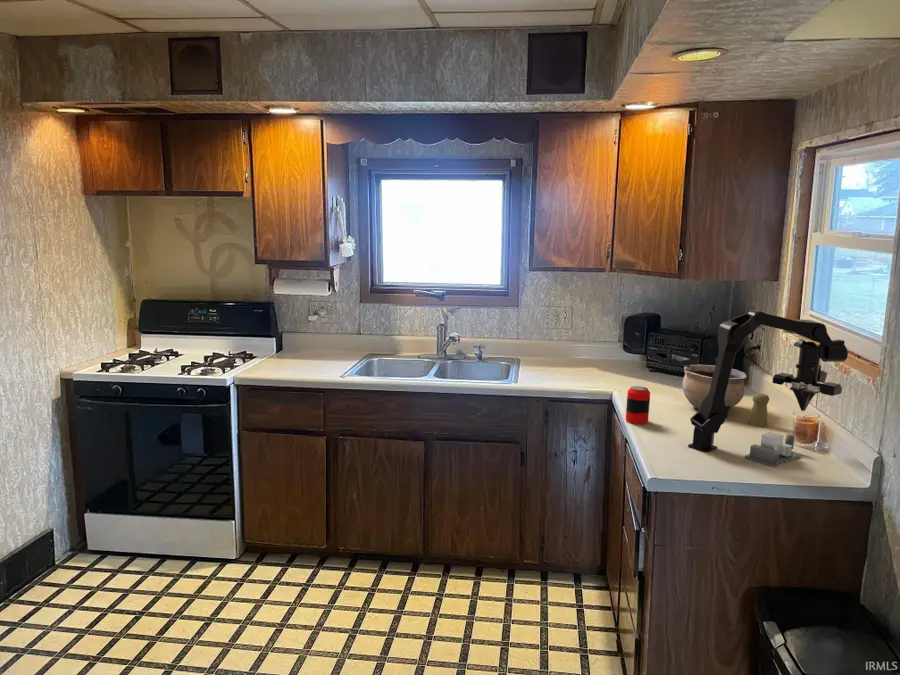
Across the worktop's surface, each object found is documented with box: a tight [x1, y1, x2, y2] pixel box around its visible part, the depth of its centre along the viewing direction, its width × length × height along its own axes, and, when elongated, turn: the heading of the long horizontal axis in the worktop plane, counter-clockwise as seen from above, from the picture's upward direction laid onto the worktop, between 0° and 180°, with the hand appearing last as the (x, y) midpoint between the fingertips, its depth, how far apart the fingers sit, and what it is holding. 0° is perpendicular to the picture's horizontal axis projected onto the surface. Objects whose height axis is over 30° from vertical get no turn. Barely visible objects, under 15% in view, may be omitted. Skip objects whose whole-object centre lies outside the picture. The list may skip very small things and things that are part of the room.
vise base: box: [744, 444, 801, 468], centre depth 204 cm, size 15×9×4 cm, turn 127°
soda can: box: [625, 385, 651, 426], centre depth 237 cm, size 8×8×12 cm
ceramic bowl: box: [682, 364, 748, 410], centre depth 253 cm, size 22×22×15 cm
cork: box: [748, 392, 770, 428], centre depth 236 cm, size 6×6×11 cm
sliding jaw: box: [782, 433, 795, 457], centre depth 208 cm, size 9×7×4 cm
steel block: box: [760, 431, 785, 458], centre depth 203 cm, size 5×4×6 cm
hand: (803, 410), depth 212 cm, fingers closed
